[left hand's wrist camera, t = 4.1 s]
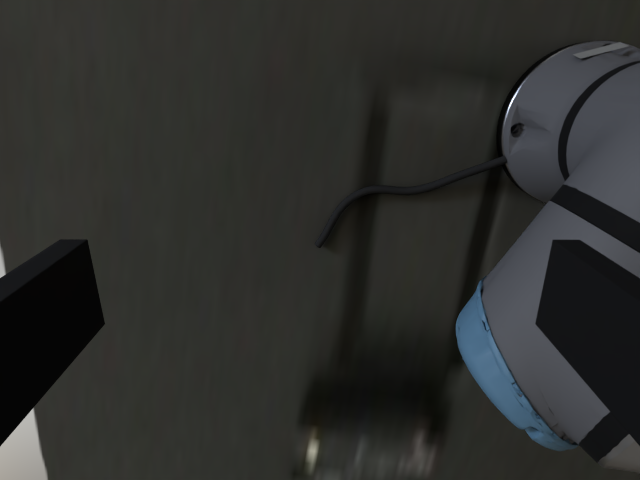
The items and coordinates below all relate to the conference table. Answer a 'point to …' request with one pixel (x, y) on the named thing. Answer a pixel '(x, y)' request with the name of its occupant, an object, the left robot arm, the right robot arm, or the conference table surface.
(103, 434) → the conference table surface
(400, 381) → the conference table surface
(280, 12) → the conference table surface
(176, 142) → the conference table surface
